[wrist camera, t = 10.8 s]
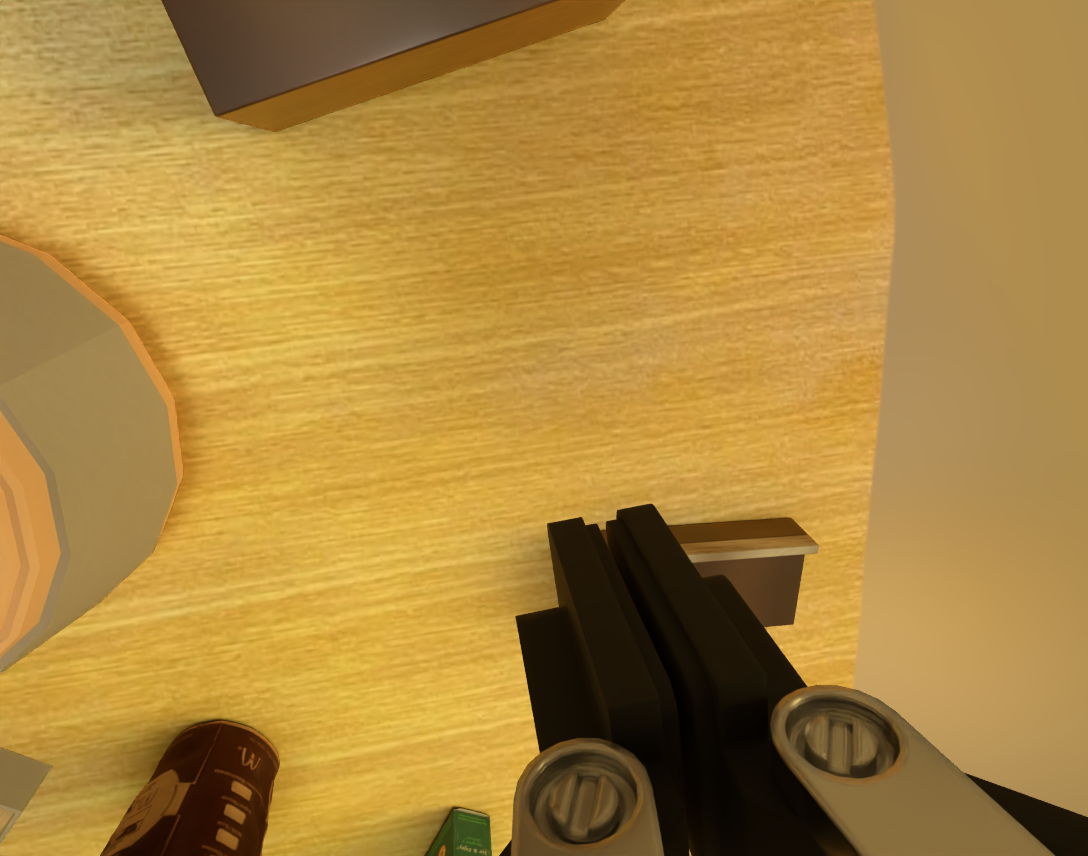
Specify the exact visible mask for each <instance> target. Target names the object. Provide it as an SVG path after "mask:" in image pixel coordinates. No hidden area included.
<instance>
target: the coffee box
mask: <svg viewBox="0 0 1088 856" xmlns="http://www.w3.org/2000/svg"><path fill="white" fill-rule="evenodd" d="M426 856H492V850H491V835H490V818H489V816H488V815H486V814H483V813H478V812H475V811H471V810H467V809H462V808H459V809H453V810H452V812H451V814H450V816H449V818H448V819H447V821H446V822H445V824H444V825H443V826H442V828H441V830H440V833H439V835H438V837H437V838H436V840H435V842H434V844H433V845H432V847H431V849H430V850H429V852H428V854H427V855H426Z"/></svg>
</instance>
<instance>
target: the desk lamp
mask: <svg viewBox="0 0 1088 856" xmlns="http://www.w3.org/2000/svg"><path fill="white" fill-rule="evenodd" d="M183 474H184V471H183V463H182V455H181V447H180V439H179V431H178V423H177V415H176V407H175V399H174V397H173V395H172V393H171V391H170V390H169V388H168V386H167V385H166V383H165V381H164V379H163V378H162V376H161V374H160V373H159V371H158V369H157V368H156V366H155V364H154V362H153V361H152V359H151V357H150V356H149V354H148V352H147V350H146V349H145V347H144V345H143V344H142V342H141V340H140V339H139V337H138V335H137V333H136V332H135V330H134V328H133V327H132V325H131V323H130V322H129V320H127V319H126V318H125V317H124V316H123V315H121V314H120V313H119V312H118V311H117V310H116V309H114V308H113V307H112V306H111V305H110V304H108V303H107V302H106V301H105V300H104V299H102V298H101V297H100V296H99V295H98V294H96V293H95V292H94V291H93V290H92V289H91V288H89V287H88V286H87V285H86V284H85V283H83V282H82V281H81V280H80V279H79V278H77V277H76V276H75V275H74V274H73V273H72V272H70V271H69V270H68V269H67V268H66V267H64V266H63V265H62V264H61V263H60V262H58V261H57V260H56V259H55V258H54V257H52V256H51V255H50V254H47V253H45V252H42V251H40V250H37V249H35V248H32V247H30V246H28V245H25V244H23V243H20V242H18V241H15V240H13V239H10V238H8V237H5V236H3V235H1V234H0V674H1V673H2V672H4V671H5V670H6V669H8V668H9V667H11V666H12V665H13V664H15V663H16V662H18V661H19V660H20V659H22V658H23V657H25V656H26V655H27V654H29V653H30V652H32V651H33V650H34V649H36V648H37V647H38V646H40V645H41V644H43V643H44V642H45V641H47V640H48V639H50V638H51V637H52V636H54V635H55V634H57V633H58V632H59V631H61V630H62V629H64V628H65V627H66V626H68V625H69V624H71V623H72V622H73V621H75V620H76V619H77V618H79V617H80V616H82V615H83V614H84V613H86V612H87V611H89V610H90V609H91V608H93V607H94V606H96V605H97V604H98V603H100V602H101V601H102V600H103V599H104V598H105V597H106V596H107V595H108V594H109V593H110V592H111V591H113V590H114V589H115V588H116V587H117V586H118V585H119V584H120V583H121V582H122V581H123V580H124V579H125V578H126V577H128V576H129V575H130V574H131V573H132V572H133V571H134V570H135V569H136V568H137V567H138V566H139V565H140V564H141V563H142V562H144V561H145V560H146V559H147V558H148V557H149V556H150V555H151V554H152V553H153V551H154V548H155V546H156V543H157V541H158V540H159V539H160V538H161V535H162V532H163V530H164V527H165V524H166V521H167V518H168V516H169V513H170V510H171V507H172V505H173V502H174V499H175V496H176V494H177V491H178V488H179V485H180V482H181V480H182V477H183ZM51 768H52V766H51V765H48V764H45V763H43V762H40V761H37V760H34V759H32V758H29V757H26V756H23V755H21V754H18V753H15V752H13V751H10V750H7V749H4V748H2V747H0V844H1V842H2V841H3V839H4V838H5V836H6V835H7V834H8V832H9V831H10V829H11V828H12V826H13V825H14V823H15V822H16V820H17V819H18V818H19V816H20V815H21V813H22V812H23V810H24V809H25V807H26V806H27V804H28V803H29V801H30V800H31V798H32V797H33V795H34V793H35V792H36V790H37V789H38V787H39V786H40V784H41V783H42V781H43V780H44V778H45V777H46V775H47V774H48V772H49V771H50V769H51Z"/></svg>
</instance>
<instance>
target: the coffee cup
mask: <svg viewBox="0 0 1088 856" xmlns="http://www.w3.org/2000/svg"><path fill="white" fill-rule="evenodd" d="M279 765H280V762H279V757H278V753H277V751H276V749H275V748H274V747H273V745H272V744H271V743H270V742H269V741H268V740H267V739H266V738H265V737H264V736H263V735H261V734H260V733H259V732H257V731H255V730H253V729H252V728H250V727H247V726H244V725H241V724H237V723H232V722H227V721H217V722H211V723H206V724H201V725H197V726H194V727H191V728H189V729H187V730H186V731H184V732H183V733H181V734H180V735H179V736H178V737H177V738H176V739H175V740H174V741H173V742H172V744H171V745H170V746H169V747H168V749H167V750H166V752H165V754H164V756H163V757H162V759H161V760H160V762H159V764H158V766H157V768H156V770H155V773H154V774H153V776H152V777H151V779H150V781H149V782H148V784H147V785H146V786H145V787H144V788H143V789H142V790H141V791H140V792H139V794H138V795H137V796H136V798H135V800H134V801H133V803H132V804H131V806H130V807H129V809H128V810H127V812H126V814H125V816H124V817H123V819H122V821H121V822H120V824H119V826H118V827H117V829H116V830H115V832H114V833H113V835H112V836H111V837H110V839H109V841H108V843H107V845H106V847H105V848H104V850H103V852H102V853H101V855H100V856H261V855H262V848H263V841H264V837H265V834H266V832H267V826H268V815H269V808H270V804H271V801H272V792H273V786H274V779H275V777H276V774H277V772H278V769H279Z"/></svg>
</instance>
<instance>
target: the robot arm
mask: <svg viewBox="0 0 1088 856" xmlns="http://www.w3.org/2000/svg"><path fill="white" fill-rule="evenodd" d="M616 518H617V520H611V521H607V522H606V534H607V543H608V546H607V544H606V542H605V540H604V538H603V536H602V533H601V531H600V529H599V527H598V525H597V524H591V525H585V523H584V521H583V519H582V517H579V518H574V519H569V520H563V521H558V522H553V523H548V524H547V529H548V537H549V543H550V550H551V557H552V563H553V570H554V577H555V583H556V590H557V597H558V603H559V607H557V608H553V609H548V610H543V611H538V612H533V613H528V614H523V615H518V616H516V622H517V628H518V633H519V639H520V644H521V650H522V655H523V661H524V667H525V672H526V678H527V683H528V689H529V695H530V700H531V706H532V711H533V717H534V722H535V728H536V734H537V739H538V745H539V750H540V754H539V755H538V756H537V757H536V758H535V759H533V760H532V761H531V762H530V763H529V764H528V765H527V767H526V769H525V770H524V772H523V774H522V775H521V777H520V779H519V780H518V783H517V787H516V792H515V796H514V805H513V826H512V840H511V841H510V842H509V844H508V845H507V846H506V848H505V849H504V850H503V851H502V853H501V854H500V855H499V856H689V850H690V852H691V855H692V856H1088V817H1086V816H1083V815H1080V814H1077V813H1075V812H1071V811H1069V810H1066V809H1063V808H1061V807H1058V806H1055V805H1052V804H1049V803H1047V802H1044V801H1041V800H1038V799H1036V798H1033V797H1030V796H1027V795H1025V794H1022V793H1019V792H1016V791H1013V790H1011V789H1008V788H1005V787H1002V786H1000V785H997V784H994V783H991V782H988V781H985V780H983V779H980V778H977V777H975V776H972V775H969V774H966V773H963V772H962V771H961V770H960V769H959V768H958V767H957V766H956V765H954V764H953V763H952V762H951V761H950V760H949V759H948V758H946V757H945V756H944V755H943V754H942V753H941V752H940V751H939V750H938V749H937V748H935V747H934V746H933V745H932V744H931V743H930V742H929V741H928V740H927V739H926V738H925V737H923V736H922V735H921V734H920V733H919V732H918V731H917V730H916V729H915V728H914V727H912V726H911V725H910V724H909V723H908V722H907V721H906V720H905V719H904V718H902V717H901V716H900V715H899V714H898V713H897V712H896V711H894V710H893V709H892V708H890V707H889V706H887V705H886V704H884V703H883V702H882V701H880V700H879V699H877V698H875V697H872V696H870V695H868V694H866V693H863V692H861V691H859V690H855V689H850V688H846V687H841V686H837V685H815V686H810V687H807V685H806V684H805V683H804V681H803V680H802V679H801V677H800V676H799V675H798V673H797V672H796V670H795V669H794V668H793V666H792V665H791V664H790V662H789V661H788V660H787V658H786V657H785V655H784V654H783V653H782V651H781V650H780V649H779V647H778V646H777V645H776V643H775V642H774V640H773V639H772V638H771V636H770V635H769V634H768V632H767V631H766V629H765V628H764V627H763V625H762V624H761V623H760V621H759V620H758V619H757V617H756V616H755V614H754V613H753V612H752V610H751V609H750V608H749V606H748V605H747V604H746V602H745V601H744V599H743V598H742V597H741V595H740V594H739V593H738V591H737V590H736V589H735V587H734V586H733V584H732V583H731V582H730V581H729V579H728V578H727V577H726V576H725V575H721V574H719V575H714V576H709V577H704V578H702V577H701V575H700V574H699V572H698V571H697V569H696V568H695V566H694V565H693V563H692V562H691V560H690V559H689V557H688V556H687V554H686V553H685V551H684V550H683V548H682V547H681V545H680V544H679V542H678V541H677V539H676V538H675V536H674V535H673V533H672V532H671V530H670V529H669V527H668V526H667V524H666V523H665V521H664V520H663V518H662V517H661V515H660V514H659V512H658V511H657V509H656V508H655V506H654V505H653V504H646V505H641V506H636V507H631V508H626V509H620V510H617V516H616Z"/></svg>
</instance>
